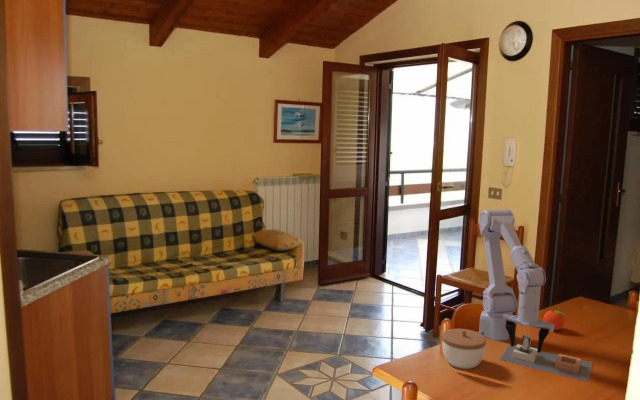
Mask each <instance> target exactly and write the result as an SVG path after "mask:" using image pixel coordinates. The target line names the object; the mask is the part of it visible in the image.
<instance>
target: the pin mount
mask: <svg viewBox="0 0 640 400" xmlns="http://www.w3.org/2000/svg"><path fill="white" fill-rule="evenodd" d="M516 345H517V346H516V347H515V349H514V351H513V358H517V359H521V360H525V361H529V362H533V363H534V362H535V360H536V358H537V356H538V352H537V349H538V348H536V347H532V346H530V354H529V353H525V352H521V351H522V344H519V343H518V344H516Z"/></svg>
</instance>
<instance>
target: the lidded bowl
mask: <svg viewBox="0 0 640 400" xmlns="http://www.w3.org/2000/svg"><path fill="white" fill-rule="evenodd" d="M482 334H483V333H482ZM482 334H480V333H479V331H475V330H471V329H467V328H450V329H447V330H445V331H443V332H442V334H441V335H442V336H441V339H442V343H441V345H442V353H443V356H444V358H445V360H446V362H448V363H449V365H451V366H453V367H454V370H458V371H461V370H462V371H463V372H465V370H467V369H468V370H469V369H473V368H476V367H477V366H479V365H480V363H482V361H483V359H484V357H485V351H486V345H487V338H486V337H484V336H483V335H482ZM464 369H465V370H464Z"/></svg>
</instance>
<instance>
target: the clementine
mask: <svg viewBox="0 0 640 400" xmlns="http://www.w3.org/2000/svg"><path fill="white" fill-rule="evenodd" d="M564 316H565V317H567V316H566V314H565V313H563V312H561V311H559V310H554V309H551V310H547V311H546V312H545V313H544V314H543V318H542V319H543V320H542V321H545V322H548V323H552V324H554V330H553V331H558V330H561V329H562V328H563V327H564V325H565V322H566V321H565V317H564Z"/></svg>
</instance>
